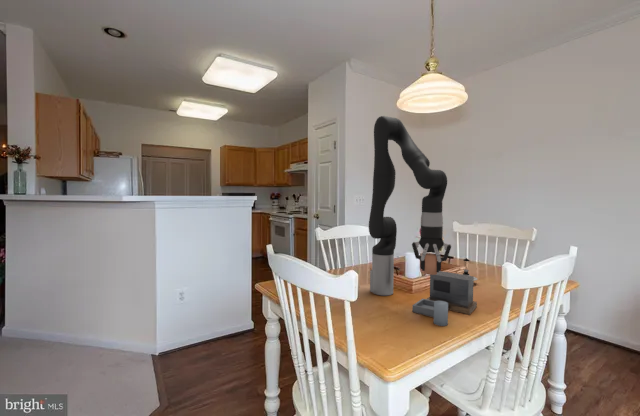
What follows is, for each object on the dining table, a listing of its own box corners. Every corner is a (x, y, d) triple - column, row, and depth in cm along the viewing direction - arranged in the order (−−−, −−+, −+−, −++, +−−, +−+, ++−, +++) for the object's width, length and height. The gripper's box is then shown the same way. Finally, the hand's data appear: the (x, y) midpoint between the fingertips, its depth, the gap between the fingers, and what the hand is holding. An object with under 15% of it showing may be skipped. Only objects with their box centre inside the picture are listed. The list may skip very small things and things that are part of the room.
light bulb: (477, 257, 152) (454, 255, 155) (479, 261, 142) (455, 259, 146) (476, 281, 152) (454, 279, 156) (478, 287, 143) (454, 284, 147)
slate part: (431, 323, 103) (432, 303, 103) (436, 319, 106) (436, 299, 106) (445, 327, 100) (445, 306, 100) (449, 322, 103) (449, 302, 103)
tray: (412, 311, 113) (412, 305, 113) (422, 304, 120) (422, 298, 120) (438, 318, 107) (438, 311, 107) (447, 310, 114) (447, 304, 114)
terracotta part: (422, 273, 112) (422, 254, 112) (426, 271, 116) (427, 252, 116) (434, 275, 110) (434, 256, 109) (438, 273, 113) (439, 254, 113)
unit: (425, 304, 121) (426, 274, 120) (434, 297, 128) (435, 269, 128) (469, 314, 110) (470, 281, 110) (476, 306, 118) (477, 276, 117)
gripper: (410, 224, 111) (409, 271, 112) (453, 226, 106) (452, 275, 107) (412, 223, 118) (411, 267, 119) (452, 224, 113) (451, 270, 114)
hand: (430, 270), depth 113 cm, fingers closed on terracotta part, 4 cm apart
